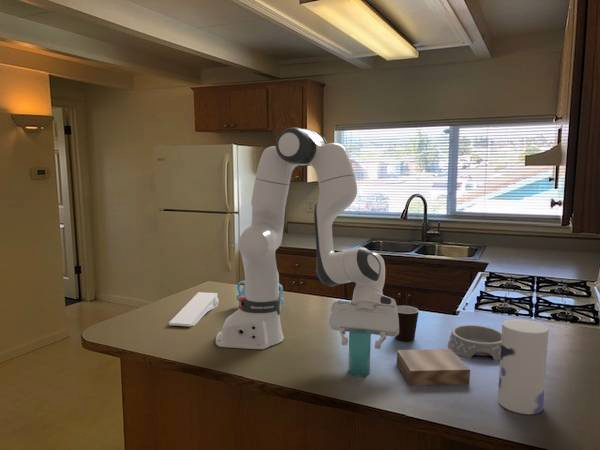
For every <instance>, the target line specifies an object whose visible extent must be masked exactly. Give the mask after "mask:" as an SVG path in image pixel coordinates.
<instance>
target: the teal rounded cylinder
mask: <svg viewBox="0 0 600 450" xmlns="http://www.w3.org/2000/svg"><path fill="white" fill-rule="evenodd" d="M371 338H372V334H370V333H369V332H367V331H363V330H354V331H351V332H348V373H349V374H350V375H352V376H356V377H365V376H368V375H369V374H371V346H372V345H371V341H372V339H371Z"/></svg>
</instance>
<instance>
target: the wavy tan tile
mask: <svg viewBox="0 0 600 450" xmlns="http://www.w3.org/2000/svg"><path fill="white" fill-rule="evenodd" d="M396 364H397V366H398V368H399V369H400V370H401V373H402V374H403V376H404V377H405V379H406V381H407V382H408V384H409V386H435V385H437V386H438V385H439V386H441V385H442V386H443V385H444V386H445V385H470V381H471V378H470V377H471V369H470V368H469V366H467V365H466V364H465V363H464V362H463V360H462V359H461V358H460V357H459V356H458V354H456V353H454V352H453V351H452V350H451V349H449V348H443V349H442V348H441V349H439V348H438V349H437V348H436V349H435V348H434V349H397V350H396Z"/></svg>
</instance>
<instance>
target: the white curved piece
mask: <svg viewBox="0 0 600 450" xmlns="http://www.w3.org/2000/svg"><path fill="white" fill-rule="evenodd" d="M218 305H219V297H218V293H217V292H203V291H199V292H196V293H195V295H194V296H193V297H192V298H191V299H190V300H189V302H187V303H186V304H185V305H184V307H183V308H182V309H180V311H179V312H177V314H176V315H175V316H174V317H172V319H171V320H170V321H168V325H169V326H178V327H179V326H180V327H192V326H193V327H194V326H195V325H196V324H197V323H198V322H200V320H201V319H203V317H204V316H205V314H206V313H208V312H209V311H212V310H214V309H215V308H216V307H218Z"/></svg>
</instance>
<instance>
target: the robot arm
mask: <svg viewBox="0 0 600 450" xmlns="http://www.w3.org/2000/svg"><path fill="white" fill-rule="evenodd" d="M309 166H311V167H312V168H313V169H314V172H315V173H316V178H317V182H318V188H319V194H318V195H319V197H318V202H317V203H316V204H315V206H314V209H313V211H314V213H313V215H314V217H313V220H314V235H315V246H316V265H315V272H316V276H317V278H318V279H319V280H320V282H321V283H323V284H324V285H326V286H327V287H330V288H331V287H335V286H339V285H343V284H348V283H355V287H354V289H353V295H352V299H351V301H350V300H340V299H339V300H337V301H334V302H332V303H331V304H332V305H331V308H330V309H331V310H330V311H331V313H330V316H329V319H328V326H329V328H330V329H331V330H332V331H336V332H339V334H340V336H341V345H342V346H349V337H346V336H345V335H346V333H349V332H351V331H354V330H363V331H367V332H369V333H370V334H371V335H374V336H375V335H377V336H380V338H378V340H375V342H374V343H375V344H374V348H375V349H378V350H381V349H382V345H383V343H384V341H385V340H386V339H387V337H388V336H389V337H394V338H395V337H396V336H397V335H398V334H399V318H398V312H397V306H398V305H397V302H396V300H395V299H394V298H391V297H389V296H386V295H384V294H383V293H384V292H383V289H384V286H385V281H386V280H385V279H386V264H385V260H384V258H383V257H382V256H381V254H379V253H376V252H372V251H371V250H369V249H368V248H366V247H365V246H364V247H356V248H350V249H347V250H342V251H341V250H340V251H337V252H335V250H334V241H333V238H334V237H333V223H334V221H335V219H336V218H337V217H338V216H339V215H340V214H341V213H342V212H344V211H345V210H346V209H348V208H349V207H350V206H351V205H352V204H353V202H354V201H355V199H356V198H357V195H358V185H357V181H356V180H357V179H356V177H355V172H354V171H355V170H354V168H353V165H352V161H351V159H350V157H349V153H348V152H347V150H346V148H345V146H344V145H342V144H341V143H337V142H329V143H328V142H327V140H326V138H325V137H324V136H323V135H322V134H321V133H319V132H316V131H313V130H311V129H308V128H300V127H295V126H294V127H288V128H286V129H284V130H282V131H281V132H280V133H279V134H278V136H277V138H276V140H275V145H271V146H269V147H266V148H265V149H264V150H263V151H262V153H261V156H260V159H259V162H258V166H257V169H256V174H255V178H254V185H253V190H252V195H251V224H250V226H249V227H246V228H245V229H244V230H243V231H242V233H241V235H240V236H239V239H238V242H237V243H238V245H237V247H238V250H239V252H240V254H241V261H242V265H243V270H244V281H245V284H244V285H245V297H244V296H239V301H238V302H239V303H238V306H239V308H238V309H237V310H235V311H234V312H233V313H232V314H230V315H229V316H228V317H227V318H226V319H225V321H224V322H223V326H222V330H221V331H218V332H217V335H216V337H215V344H216V346H218V347H219V348H231V349H232V348H234V349H249V350H250V349H251V350H266V349H267V348H269V347H272V346H274V345H277V344H280V343H281V342H283V341H284V339H285V336H284V334H283V330H282V329H283V328H282V323H281V317H280V316H281V315H280V314H281V309H282V308H281V305H282V304H281V302H282V301H281V300H280V297H279V293H280V287H279V284H280V279H279V278H280V274H279V271H278V266H277V259H276V251H277V249H279V248H280V246H281V244H282V242H283V241H282V240H283V235H284V225H285V211H286V206H287V205H286V204H287V200H288V199H287V198H288V194H289V190H290V189H289V188H290V184H291V177H292V175H293V171H294V169H295V168H296V167H301V168H303V167H309Z"/></svg>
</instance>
